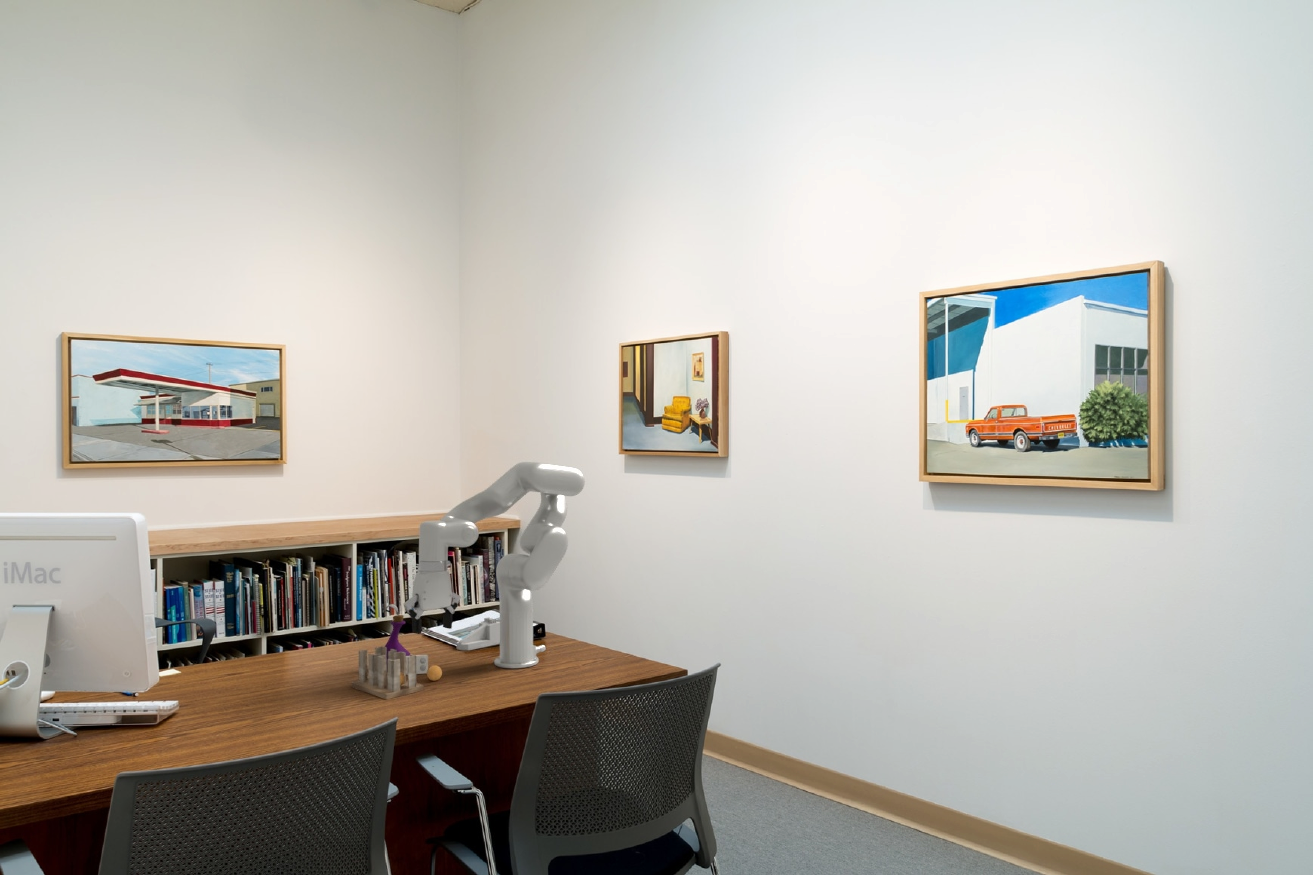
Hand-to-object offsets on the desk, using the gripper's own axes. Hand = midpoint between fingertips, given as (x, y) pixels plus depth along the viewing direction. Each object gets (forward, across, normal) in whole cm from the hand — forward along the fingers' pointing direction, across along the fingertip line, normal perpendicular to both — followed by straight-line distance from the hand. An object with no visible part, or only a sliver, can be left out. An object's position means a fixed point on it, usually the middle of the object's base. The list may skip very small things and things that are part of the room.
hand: (432, 630), depth 243 cm
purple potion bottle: (+14, -1, -20) cm, 24 cm away
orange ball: (+14, -1, 0) cm, 14 cm away
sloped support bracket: (+13, -35, -23) cm, 44 cm away
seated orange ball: (+13, +12, +2) cm, 17 cm away
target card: (+14, -1, -10) cm, 17 cm away
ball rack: (+14, +12, -3) cm, 18 cm away
